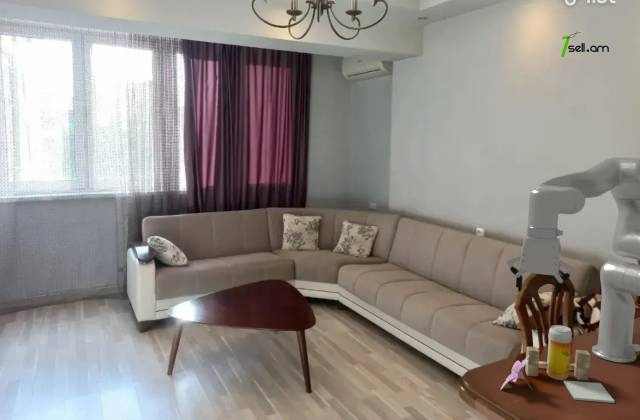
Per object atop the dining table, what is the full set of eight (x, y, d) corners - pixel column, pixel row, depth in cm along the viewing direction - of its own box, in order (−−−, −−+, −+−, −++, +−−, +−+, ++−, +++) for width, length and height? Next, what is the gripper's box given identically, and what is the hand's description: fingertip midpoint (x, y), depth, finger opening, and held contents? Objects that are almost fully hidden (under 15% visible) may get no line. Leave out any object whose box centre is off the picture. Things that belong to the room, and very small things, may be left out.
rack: (579, 368, 155) (581, 344, 154) (588, 380, 148) (590, 354, 147) (521, 364, 158) (523, 340, 157) (527, 375, 151) (528, 350, 150)
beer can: (571, 381, 147) (574, 333, 145) (549, 379, 148) (552, 331, 146) (565, 372, 153) (569, 325, 151) (544, 370, 154) (547, 323, 152)
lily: (520, 378, 151) (504, 350, 151) (554, 378, 142) (538, 348, 142) (500, 403, 144) (484, 373, 144) (535, 404, 135) (518, 373, 135)
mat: (600, 385, 145) (600, 383, 145) (614, 402, 135) (614, 400, 135) (563, 382, 147) (563, 380, 147) (574, 399, 137) (574, 397, 137)
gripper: (577, 233, 138) (573, 293, 140) (511, 228, 146) (507, 285, 148) (576, 238, 131) (571, 301, 134) (506, 232, 140) (503, 291, 142)
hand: (538, 292), depth 141 cm, fingers open, 9 cm apart
